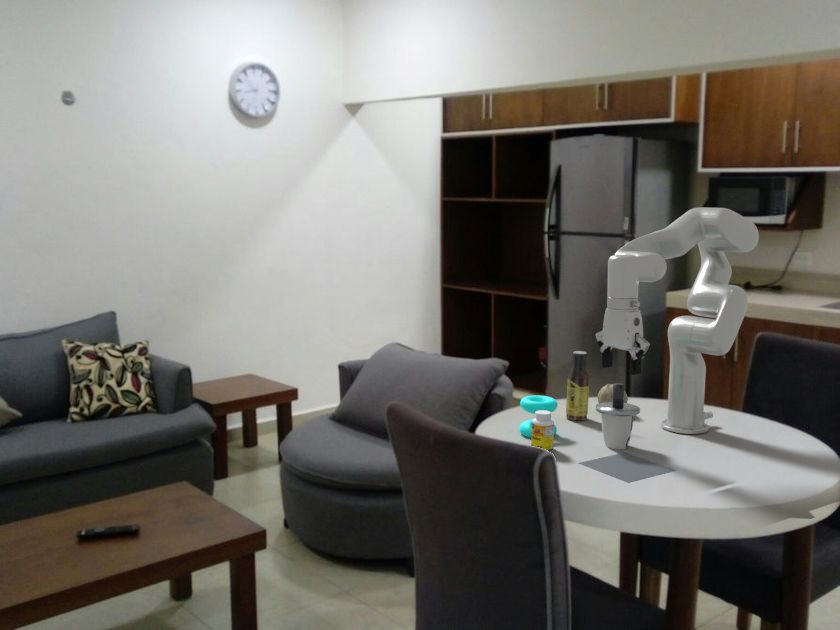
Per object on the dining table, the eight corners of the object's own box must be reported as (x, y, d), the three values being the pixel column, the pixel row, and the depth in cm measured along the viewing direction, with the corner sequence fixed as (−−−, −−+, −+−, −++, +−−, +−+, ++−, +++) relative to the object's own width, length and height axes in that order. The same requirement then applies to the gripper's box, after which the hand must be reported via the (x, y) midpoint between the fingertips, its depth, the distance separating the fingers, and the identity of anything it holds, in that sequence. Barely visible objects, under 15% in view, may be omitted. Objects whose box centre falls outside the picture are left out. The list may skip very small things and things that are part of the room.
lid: (616, 403, 217) (617, 377, 216) (649, 412, 208) (650, 386, 207) (586, 408, 211) (587, 382, 210) (619, 418, 202) (620, 391, 201)
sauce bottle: (563, 416, 242) (565, 349, 239) (583, 415, 242) (586, 349, 240) (569, 422, 235) (571, 354, 232) (590, 421, 236) (593, 353, 233)
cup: (635, 453, 207) (637, 414, 206) (603, 452, 207) (604, 414, 206) (628, 443, 215) (629, 406, 214) (597, 443, 215) (598, 406, 214)
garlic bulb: (625, 423, 244) (636, 394, 240) (598, 419, 243) (608, 390, 238) (616, 406, 252) (626, 378, 248) (590, 402, 251) (600, 374, 247)
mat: (625, 454, 206) (625, 452, 206) (676, 472, 193) (676, 470, 193) (578, 465, 197) (578, 463, 197) (628, 485, 184) (628, 482, 184)
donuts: (520, 402, 217) (519, 393, 227) (519, 439, 219) (519, 428, 229) (558, 403, 216) (556, 394, 226) (557, 440, 218) (555, 430, 228)
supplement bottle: (526, 449, 210) (527, 410, 208) (545, 447, 212) (546, 408, 210) (538, 455, 205) (540, 416, 203) (557, 453, 207) (558, 413, 205)
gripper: (659, 306, 201) (657, 374, 204) (608, 298, 215) (606, 362, 218) (638, 309, 197) (636, 379, 200) (587, 301, 211) (586, 366, 214)
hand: (621, 370), depth 209 cm, fingers open, 9 cm apart
